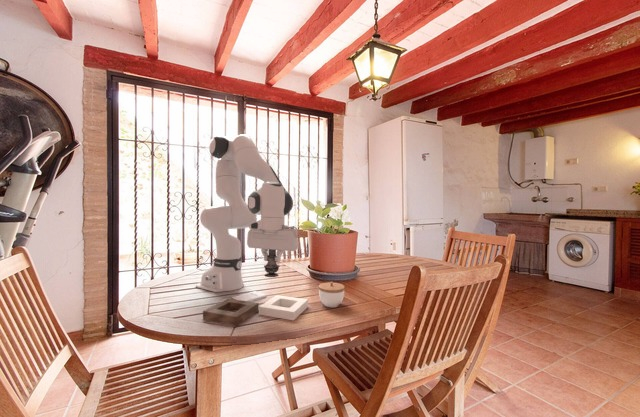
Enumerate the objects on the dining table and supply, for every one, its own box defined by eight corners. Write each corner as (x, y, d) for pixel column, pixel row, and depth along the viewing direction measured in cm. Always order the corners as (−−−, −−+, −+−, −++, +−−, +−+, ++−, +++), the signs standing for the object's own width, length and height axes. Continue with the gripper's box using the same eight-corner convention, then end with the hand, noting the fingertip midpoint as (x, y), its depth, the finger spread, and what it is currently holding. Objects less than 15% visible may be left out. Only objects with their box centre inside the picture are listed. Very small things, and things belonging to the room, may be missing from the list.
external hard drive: (230, 301, 122) (254, 294, 132) (242, 305, 117) (266, 298, 127) (230, 297, 122) (254, 290, 132) (242, 301, 117) (266, 294, 127)
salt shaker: (282, 275, 109) (283, 243, 109) (270, 278, 105) (270, 245, 105) (272, 273, 113) (273, 242, 113) (260, 275, 109) (261, 243, 109)
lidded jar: (347, 302, 122) (348, 280, 122) (339, 311, 112) (340, 287, 112) (323, 298, 126) (324, 277, 126) (314, 306, 116) (314, 283, 116)
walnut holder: (202, 319, 102) (203, 310, 102) (227, 305, 115) (227, 298, 115) (236, 325, 97) (237, 316, 97) (258, 310, 111) (258, 303, 111)
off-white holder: (259, 314, 107) (259, 306, 107) (276, 302, 121) (276, 295, 120) (293, 320, 103) (293, 312, 103) (307, 306, 116) (308, 299, 116)
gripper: (301, 225, 109) (300, 261, 109) (254, 222, 115) (253, 257, 116) (294, 226, 103) (293, 265, 103) (245, 224, 109) (244, 260, 110)
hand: (272, 261), depth 109 cm, fingers closed on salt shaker, 3 cm apart
